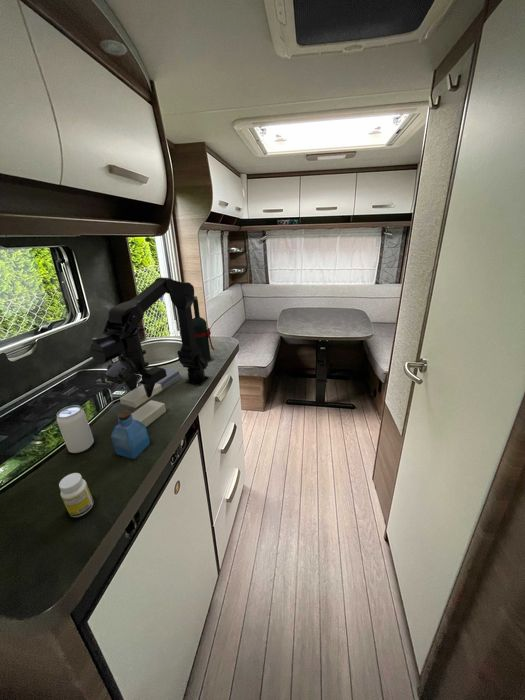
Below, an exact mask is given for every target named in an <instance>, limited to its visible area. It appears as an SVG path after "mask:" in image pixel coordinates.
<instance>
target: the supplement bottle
mask: <svg viewBox="0 0 525 700" xmlns="http://www.w3.org/2000/svg"><path fill="white" fill-rule="evenodd" d="M58 487H59V490H60V497H61V499H62V501H63V504H64V506H65V508H66V511H67V512H68V515H69V516H70V517H73V518H79V517H82V516H84V515H85V514H87V513H88V512H90V510H91V509H92V508H93V506H94V498H93V496H92V493H91V491H90V488H89V485H88V483H87V481H86V480H85V479H83V477H82V475H81V473H79V472H73V473H69V474H67V475H66V476H64V477H63V478H61V480H60V481H59V483H58Z"/></svg>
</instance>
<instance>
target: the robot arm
mask: <svg viewBox="0 0 525 700" xmlns="http://www.w3.org/2000/svg"><path fill="white" fill-rule="evenodd" d="M165 294H167V295H168V296H169V299H170V301H171V302H172V304H173V305H174V307H175V309H176V313H177V320H178V326H179V333H180V339H181V347H180V349H178V350H177V357H178V360H177V361H179V363H180V364H181V365H182V367H183V368H187V378H188V379H187V380H186V383H187V384H192V385H197V386H201V385H202V384H203V383H204V382H205V381H207V380H208V379H209V376H207V375H206V374H205V370H207V367H208V365H209V361H207V360H206V359H204V358H203V357H202V354H201V350H200V349H199V347H198V346H197V345H196V342H195V334H194V327H193V313H192V305H193V301H194V296H195V287H194V285H193V284H192V283H191V282H188V281H187V282H184V281H179V280H175V279H173V278H170V277H159V276H158V277H157V278H155V280H154V281H153V282H152V283H151V284H149V285H148V286H147V287H146V288H144V289H143V290H142V291H141V292H140V293H138V294H137V295H135V296H134V297H133V298H132V299H130V300H128V301H124V302H121V303H119V304H117V305H115V306H113V307H111V308H110V309H109V311H108V316H107V319H106V322H105V324H104V328H103V331H102V334H103V335H100V336H96V337H93V338H91V342H92V343H91V344H90V346H89V354H90V356H91V357H92V359H93V360H94V361H95V362H96V363H98V364H100V365H102V364H105V363H107V362H110V361H111V360H114V359H116V358H117V360H116V361H114V362H112V363H110V364H108V366H107V367H106V370H107V371H106V372H105V373H104V374H105V376H106V377H107V378H108V380H109V381H110V382H111V384H112V383H115V384H118V385H123V384H124V383H125V384H126V386H127V387H128V388H129V390H130V391H132V390H134V389H135V388H137V387H138V383H137V382H139V381H140V382H139V383H140V384H143V385H144V389H145V392H146V395H147V397H148V398H149V399H151V398H152V397H151V395H152V392H153V389H154V386H155V383H157V382H158V381H160V380H162V379H163V378H165V377H166V376H167V374H166V370H165V369H164V368H165V367H159V366H153V367H151V368H149V369H148V368H147V367H149V365H150V363H149V362H148V361H146V360H145V356H144V355H146V354H147V350H145V349H143V347H142V342H141V338H140V333H142V332H144V331H145V328H144V327H142V326H140V325H139V324H140V323H141V322H142V321H143V319H144V316H145V313H146V311H148V310H149V309H150V308H151V307H152V306H153V305H154V304H155V303H156V302H158V301H159V300H160V299H161V298H162V297H163V296H165ZM138 376H141V380H142V381H141V380H139V381H137V380H138ZM150 397H151V398H150Z"/></svg>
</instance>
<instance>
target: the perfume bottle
mask: <svg viewBox="0 0 525 700" xmlns="http://www.w3.org/2000/svg"><path fill="white" fill-rule="evenodd" d="M117 421H118V424H116V426H114V428H113V430H112V433H111V435H110V439H111V442H112V445H113V449H114V451H115V455H118V456H121V457H125V458H129V459H133V460H135V459H136V458H138V457H139V455H140V454H141V453H142V452H143V451H144V450H145V449H146V448H147V447H148V446H149V445H150V444H151V442H150V439H149V433H148V430H147V427H146V426H145V425H144V424H142V423H141V422H139V421H138V420H133V417H132V413H131V410H130V409H124V410H121V411H119V412H118V413H117Z"/></svg>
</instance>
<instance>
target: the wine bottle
mask: <svg viewBox="0 0 525 700" xmlns="http://www.w3.org/2000/svg"><path fill="white" fill-rule="evenodd" d="M192 305H193V306H192V307H193V314H194V317H192V319H193V327H194V334H195V342H196V345H197V346H198V347H199V349H200V350H201V354H202V357H203V358H204V359H206V360H207V361H208V362H210V361H211V360H212V357H211V349H212V351H213V352H215V348H214V346H213V343H212V339H211V333H212V332H211V328H210V327H208V323H207V321H206V320H205V318H203V317H201V316H200V315H201V314H200V308H199V299H198V295H194V301H193V303H192Z"/></svg>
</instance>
